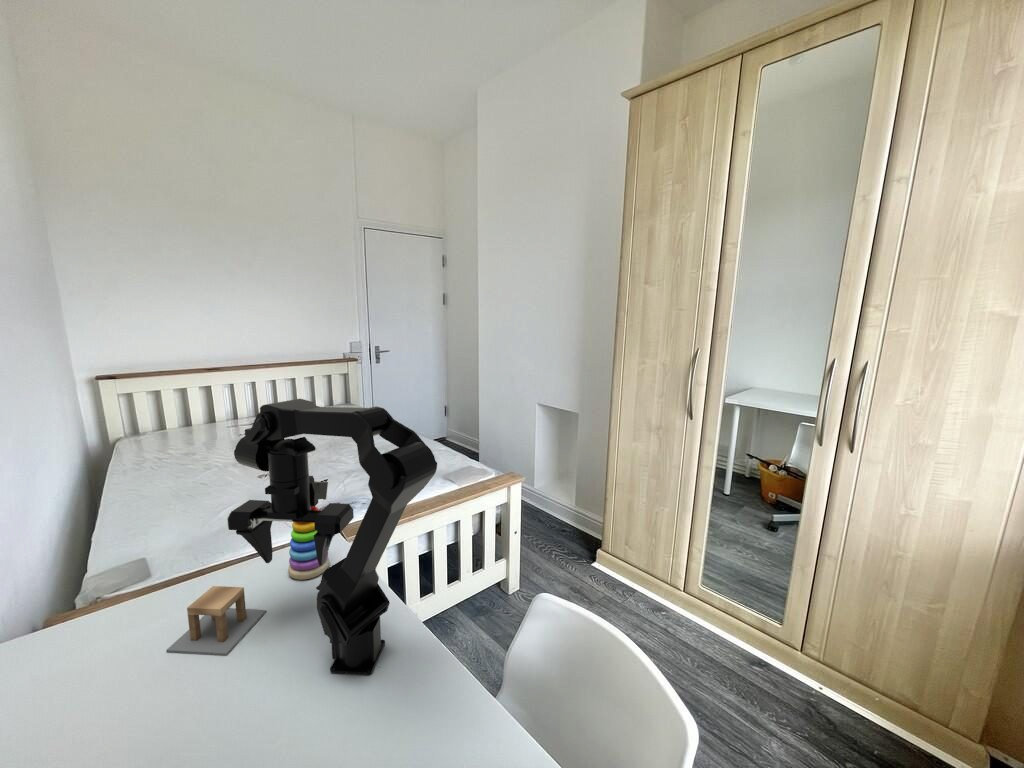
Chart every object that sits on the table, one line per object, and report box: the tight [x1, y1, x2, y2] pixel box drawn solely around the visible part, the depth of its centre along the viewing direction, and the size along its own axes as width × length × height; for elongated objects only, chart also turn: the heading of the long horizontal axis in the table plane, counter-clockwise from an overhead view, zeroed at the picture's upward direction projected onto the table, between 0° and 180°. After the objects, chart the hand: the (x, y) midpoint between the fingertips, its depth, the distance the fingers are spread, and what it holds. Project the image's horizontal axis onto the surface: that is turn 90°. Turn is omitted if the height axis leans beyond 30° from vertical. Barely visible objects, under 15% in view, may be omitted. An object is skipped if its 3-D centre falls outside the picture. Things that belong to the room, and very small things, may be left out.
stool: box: [186, 585, 247, 642], centre depth 71 cm, size 6×6×6 cm
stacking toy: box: [287, 506, 330, 581], centre depth 87 cm, size 8×8×19 cm
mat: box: [165, 607, 267, 657], centre depth 71 cm, size 10×10×1 cm
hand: (295, 563), depth 71 cm, fingers open, 9 cm apart
